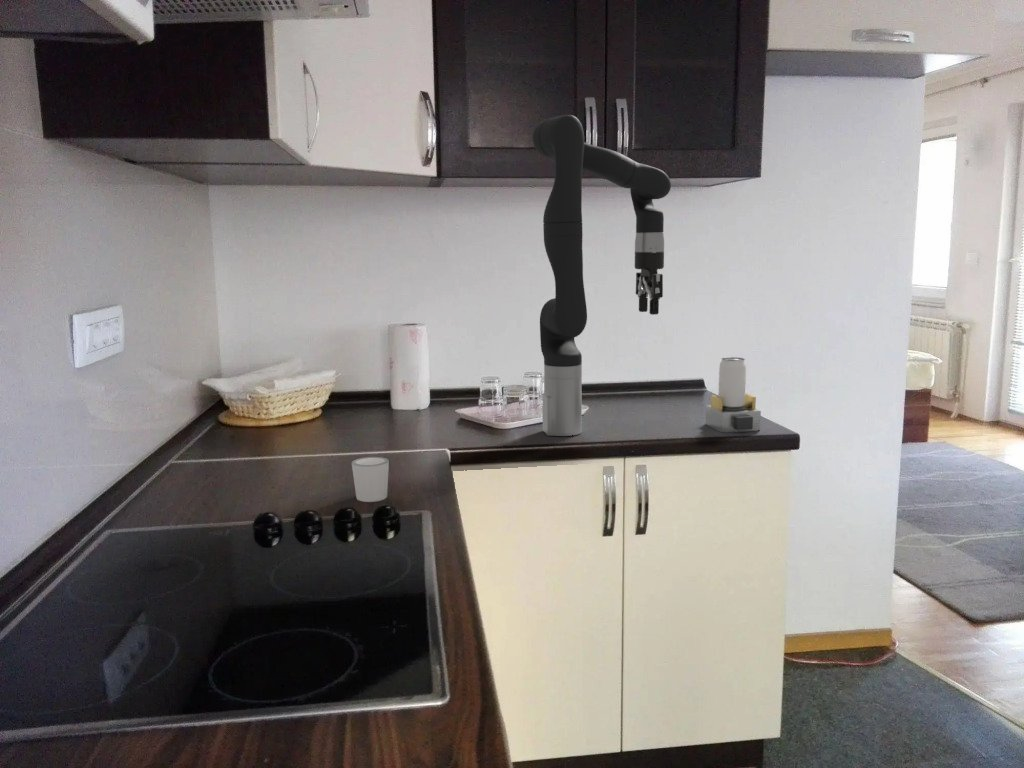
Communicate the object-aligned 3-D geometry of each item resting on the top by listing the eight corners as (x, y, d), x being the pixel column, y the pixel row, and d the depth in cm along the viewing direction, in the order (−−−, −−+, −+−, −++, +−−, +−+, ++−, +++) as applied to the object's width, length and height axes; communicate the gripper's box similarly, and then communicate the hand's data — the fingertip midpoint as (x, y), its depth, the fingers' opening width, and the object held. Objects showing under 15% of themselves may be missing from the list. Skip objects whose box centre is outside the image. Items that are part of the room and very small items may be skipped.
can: (747, 408, 199) (749, 360, 197) (721, 408, 199) (723, 360, 197) (740, 403, 206) (742, 356, 204) (715, 403, 206) (717, 357, 204)
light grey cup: (379, 489, 155) (378, 454, 154) (397, 498, 149) (395, 461, 148) (347, 496, 151) (345, 460, 150) (363, 505, 145) (361, 468, 144)
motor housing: (725, 434, 195) (726, 402, 194) (705, 423, 207) (706, 393, 206) (763, 432, 197) (765, 400, 196) (741, 422, 209) (742, 391, 207)
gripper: (627, 250, 214) (626, 311, 217) (644, 250, 201) (643, 315, 203) (653, 250, 216) (652, 310, 218) (673, 250, 202) (671, 314, 205)
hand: (648, 313), depth 211 cm, fingers open, 8 cm apart
